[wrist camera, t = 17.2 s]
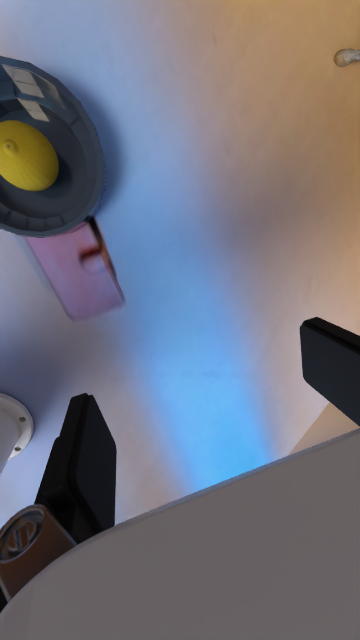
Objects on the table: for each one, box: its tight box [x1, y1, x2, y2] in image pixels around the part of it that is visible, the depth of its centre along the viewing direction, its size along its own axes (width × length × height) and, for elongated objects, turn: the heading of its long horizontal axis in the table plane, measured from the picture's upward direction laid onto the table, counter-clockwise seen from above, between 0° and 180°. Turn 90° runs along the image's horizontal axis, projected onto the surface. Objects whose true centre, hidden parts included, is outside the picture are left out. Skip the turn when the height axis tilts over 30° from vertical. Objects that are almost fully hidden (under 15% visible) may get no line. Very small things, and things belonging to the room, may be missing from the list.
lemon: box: [0, 120, 59, 191], centre depth 24 cm, size 6×6×8 cm
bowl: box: [0, 56, 106, 238], centre depth 26 cm, size 14×14×6 cm
